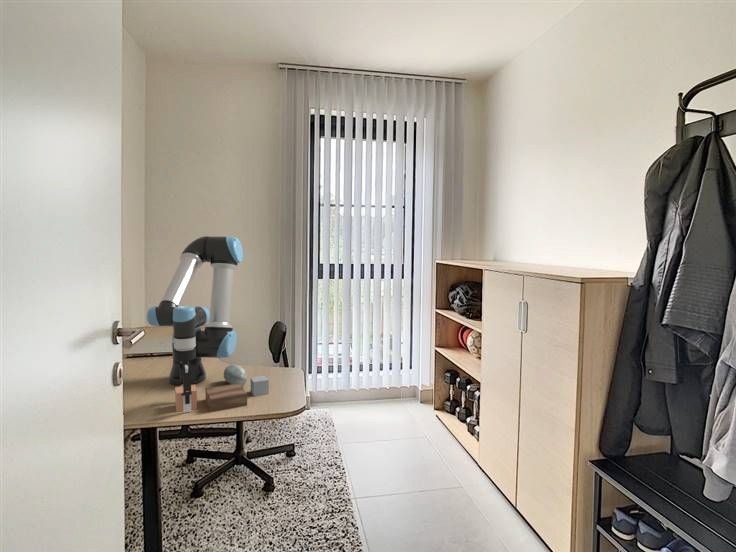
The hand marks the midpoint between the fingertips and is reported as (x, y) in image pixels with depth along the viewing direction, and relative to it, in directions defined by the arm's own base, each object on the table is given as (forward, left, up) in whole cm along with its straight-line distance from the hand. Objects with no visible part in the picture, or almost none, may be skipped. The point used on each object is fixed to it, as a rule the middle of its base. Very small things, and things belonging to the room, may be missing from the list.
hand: (186, 406), depth 160 cm
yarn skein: (-17, +21, -1) cm, 27 cm away
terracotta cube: (0, 0, 0) cm, 0 cm away
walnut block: (+2, +14, -1) cm, 14 cm away
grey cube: (-3, +28, 0) cm, 28 cm away
